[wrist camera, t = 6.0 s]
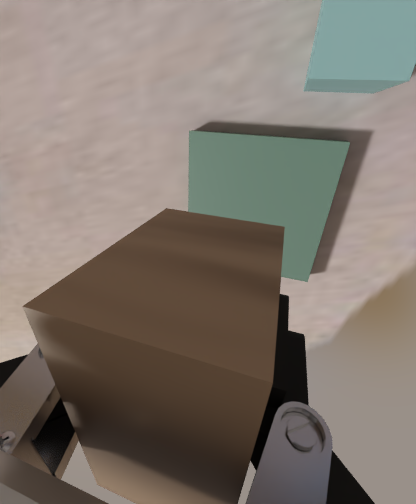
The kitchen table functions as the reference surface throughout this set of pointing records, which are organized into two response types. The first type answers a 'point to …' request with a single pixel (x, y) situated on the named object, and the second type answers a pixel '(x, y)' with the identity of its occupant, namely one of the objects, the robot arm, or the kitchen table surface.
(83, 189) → the kitchen table surface
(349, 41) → the teal brick
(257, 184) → the board
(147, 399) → the walnut brick
